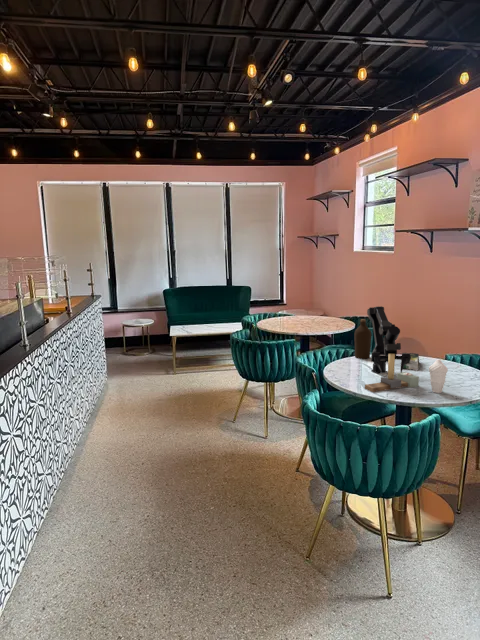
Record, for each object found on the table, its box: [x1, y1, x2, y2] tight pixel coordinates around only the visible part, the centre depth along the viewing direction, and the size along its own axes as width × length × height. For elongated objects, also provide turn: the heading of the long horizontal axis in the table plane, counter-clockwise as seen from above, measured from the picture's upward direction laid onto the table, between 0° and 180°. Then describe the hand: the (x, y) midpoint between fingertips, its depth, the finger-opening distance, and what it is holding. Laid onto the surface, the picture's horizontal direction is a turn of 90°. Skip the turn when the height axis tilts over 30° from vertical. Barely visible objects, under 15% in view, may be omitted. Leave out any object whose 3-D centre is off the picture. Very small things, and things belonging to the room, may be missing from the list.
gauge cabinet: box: [396, 371, 420, 388], centre depth 216 cm, size 5×10×6 cm, turn 20°
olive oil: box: [353, 318, 372, 360], centre depth 272 cm, size 11×11×25 cm
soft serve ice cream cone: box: [428, 358, 449, 394], centre depth 202 cm, size 8×8×16 cm
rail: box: [364, 380, 409, 393], centre depth 211 cm, size 22×6×2 cm, turn 110°
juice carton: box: [403, 352, 420, 371], centre depth 251 cm, size 20×10×6 cm, turn 157°
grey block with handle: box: [380, 353, 402, 389], centre depth 211 cm, size 6×8×16 cm
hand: (391, 372), depth 210 cm, fingers open, 9 cm apart
